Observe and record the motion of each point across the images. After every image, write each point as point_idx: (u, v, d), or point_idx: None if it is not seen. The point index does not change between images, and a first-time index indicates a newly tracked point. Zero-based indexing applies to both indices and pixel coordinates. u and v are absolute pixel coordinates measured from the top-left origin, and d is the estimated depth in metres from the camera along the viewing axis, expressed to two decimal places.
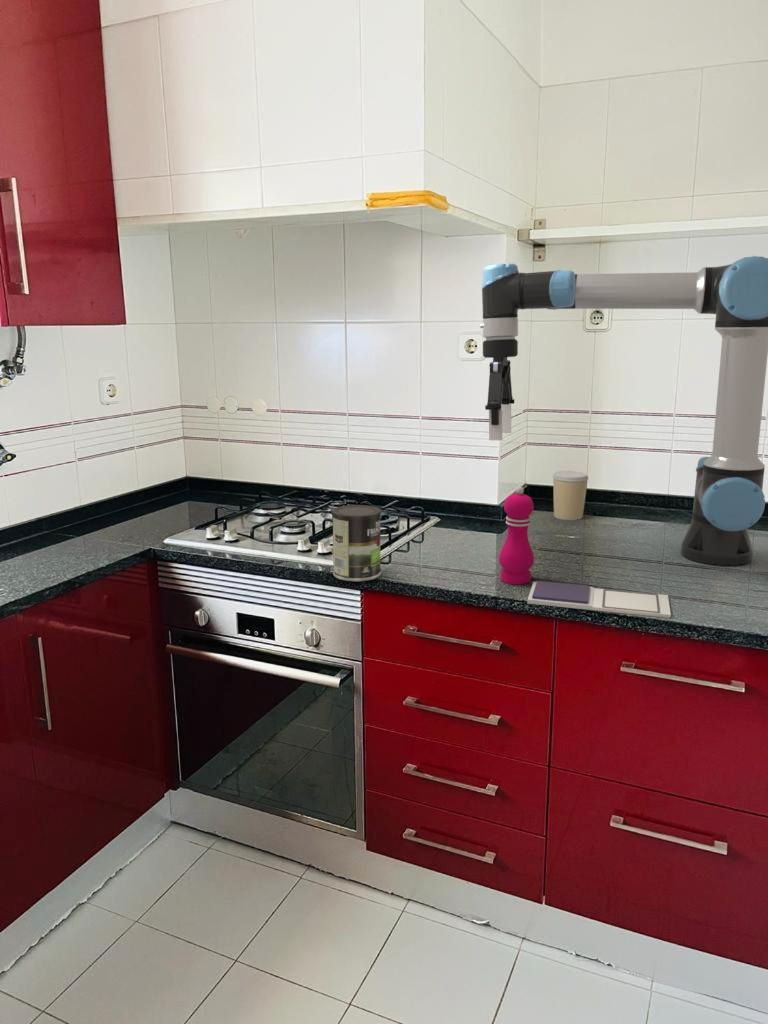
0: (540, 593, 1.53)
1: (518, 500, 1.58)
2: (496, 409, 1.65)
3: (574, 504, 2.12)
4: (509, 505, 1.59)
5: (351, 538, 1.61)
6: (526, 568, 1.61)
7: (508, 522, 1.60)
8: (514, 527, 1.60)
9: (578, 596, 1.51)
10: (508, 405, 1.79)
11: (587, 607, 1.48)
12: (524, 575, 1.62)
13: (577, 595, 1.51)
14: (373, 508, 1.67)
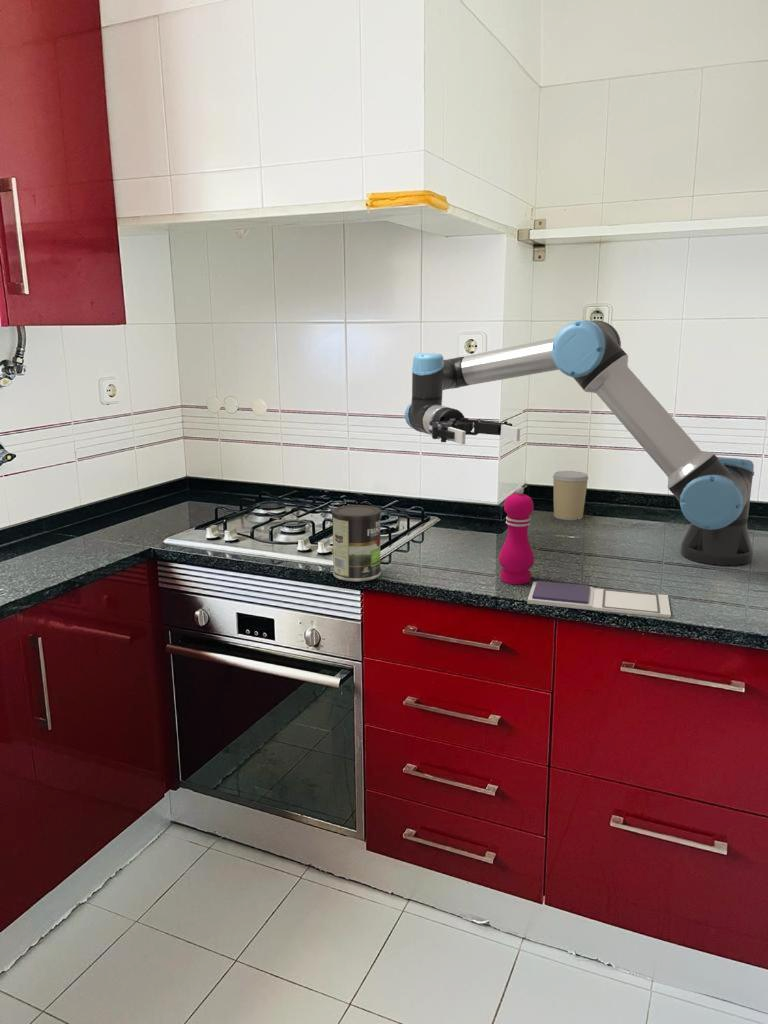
0: (540, 593, 1.53)
1: (518, 500, 1.58)
2: (441, 431, 1.71)
3: (574, 504, 2.12)
4: (509, 505, 1.59)
5: (351, 538, 1.61)
6: (526, 568, 1.61)
7: (508, 522, 1.60)
8: (514, 527, 1.60)
9: (578, 596, 1.51)
10: (501, 427, 1.76)
11: (587, 607, 1.48)
12: (524, 575, 1.62)
13: (577, 595, 1.51)
14: (373, 508, 1.67)
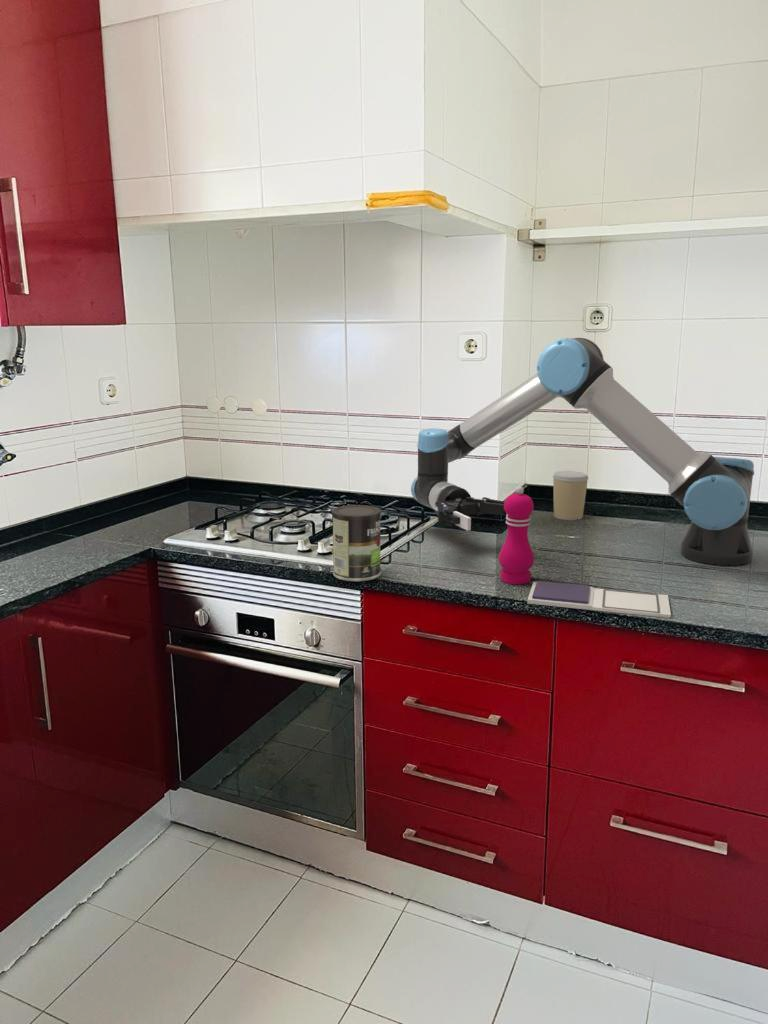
0: (540, 593, 1.53)
1: (518, 500, 1.58)
2: (447, 515, 1.71)
3: (574, 504, 2.12)
4: (509, 505, 1.59)
5: (351, 538, 1.61)
6: (526, 568, 1.61)
7: (508, 522, 1.60)
8: (514, 527, 1.60)
9: (578, 596, 1.51)
10: None
11: (587, 607, 1.48)
12: (524, 575, 1.62)
13: (577, 595, 1.51)
14: (373, 508, 1.67)
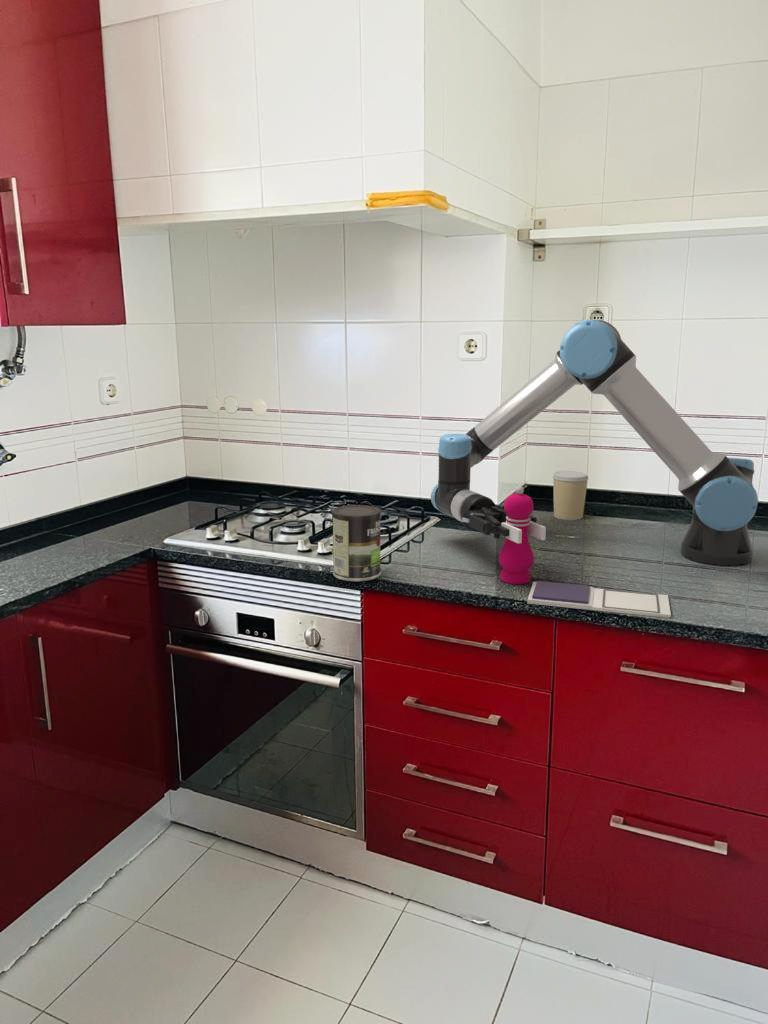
0: (540, 593, 1.53)
1: (518, 500, 1.58)
2: (494, 527, 1.61)
3: (574, 504, 2.12)
4: (509, 505, 1.59)
5: (351, 538, 1.61)
6: (526, 568, 1.61)
7: (508, 522, 1.60)
8: None
9: (578, 596, 1.51)
10: None
11: (587, 607, 1.48)
12: (524, 575, 1.62)
13: (577, 595, 1.51)
14: (373, 508, 1.67)
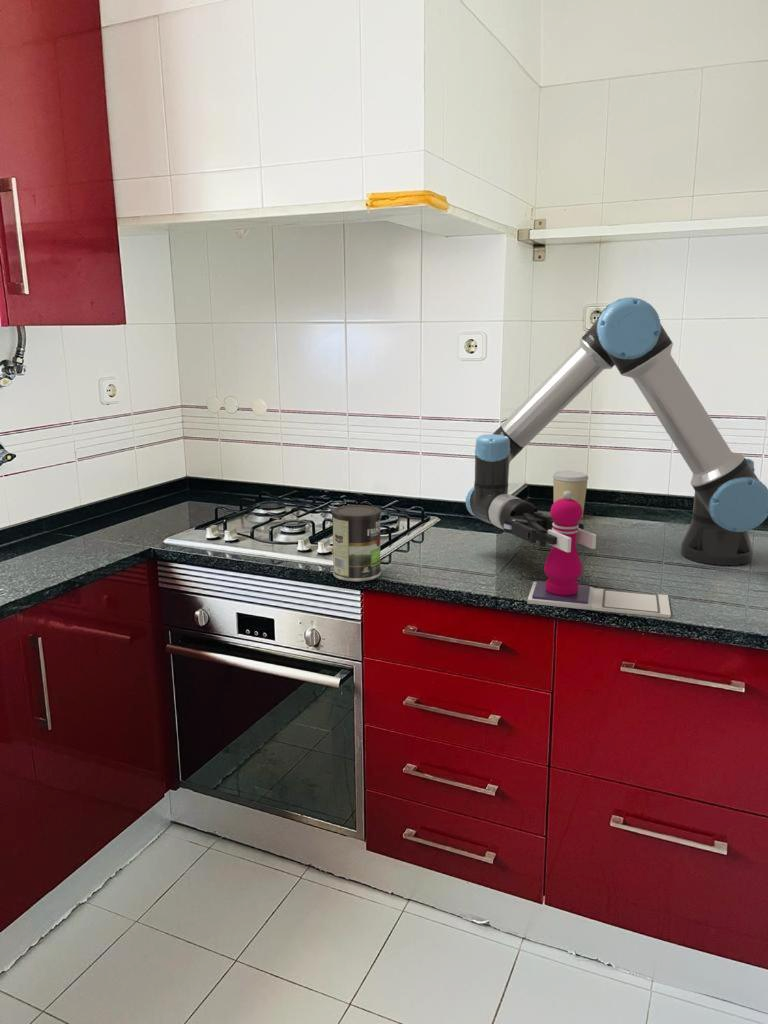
0: (540, 593, 1.53)
1: (566, 506, 1.48)
2: (540, 534, 1.51)
3: None
4: (557, 511, 1.48)
5: (351, 538, 1.61)
6: (574, 578, 1.50)
7: (555, 529, 1.50)
8: None
9: (578, 596, 1.51)
10: None
11: (587, 607, 1.48)
12: (572, 585, 1.51)
13: (577, 595, 1.51)
14: (373, 508, 1.67)
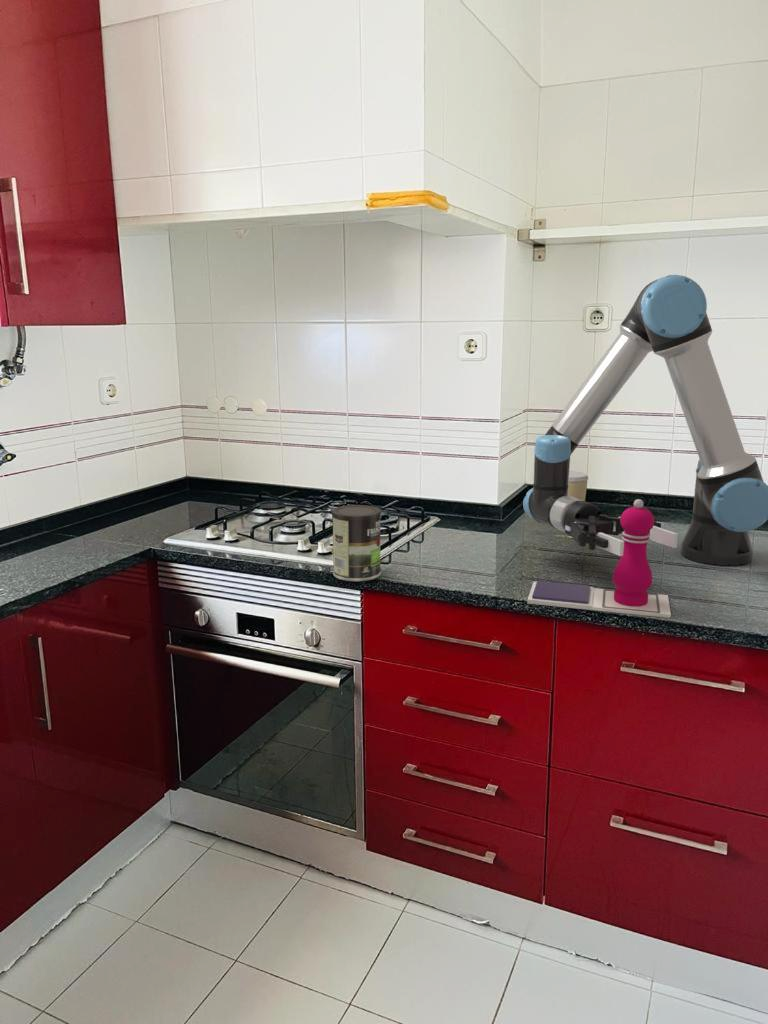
0: (540, 593, 1.53)
1: (639, 515, 1.44)
2: (590, 537, 1.47)
3: None
4: (628, 520, 1.45)
5: (351, 538, 1.61)
6: (645, 589, 1.47)
7: (626, 538, 1.46)
8: (633, 544, 1.46)
9: (578, 596, 1.51)
10: None
11: (587, 607, 1.48)
12: (642, 596, 1.48)
13: (577, 595, 1.51)
14: (373, 508, 1.67)
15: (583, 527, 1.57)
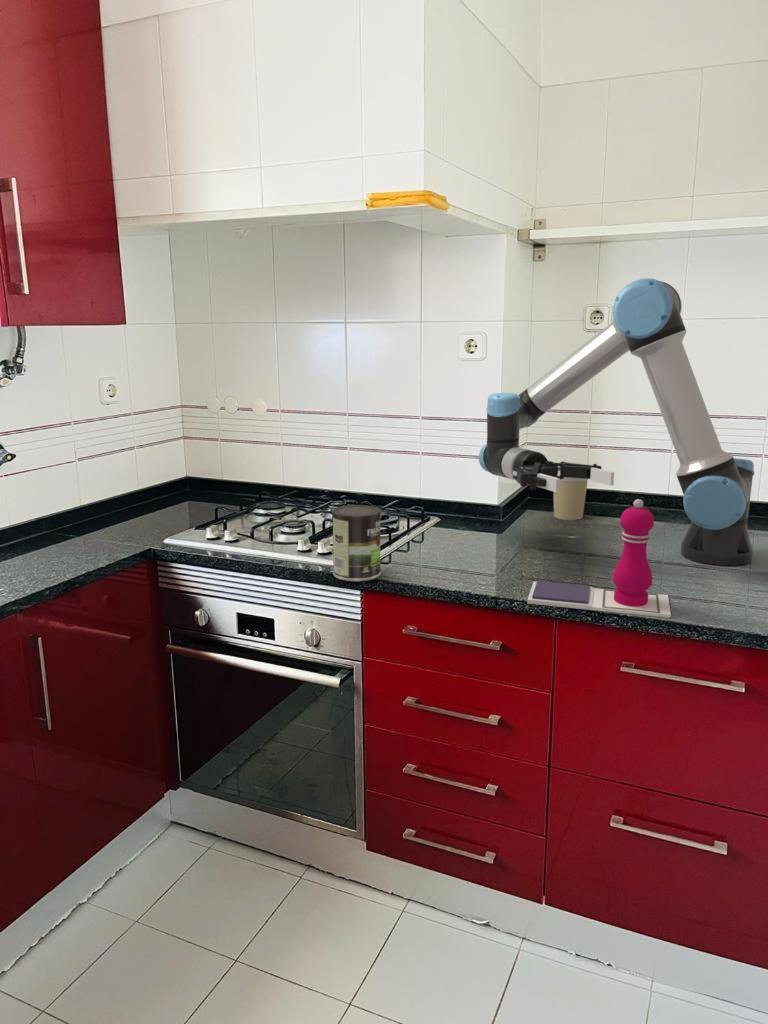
0: (540, 593, 1.53)
1: (639, 515, 1.44)
2: (530, 478, 1.61)
3: (574, 504, 2.12)
4: (628, 520, 1.45)
5: (351, 538, 1.61)
6: (645, 589, 1.47)
7: (626, 538, 1.47)
8: (633, 544, 1.46)
9: (578, 596, 1.51)
10: (591, 470, 1.67)
11: (587, 607, 1.48)
12: (642, 596, 1.48)
13: (577, 595, 1.51)
14: (373, 508, 1.67)
15: (530, 472, 1.71)
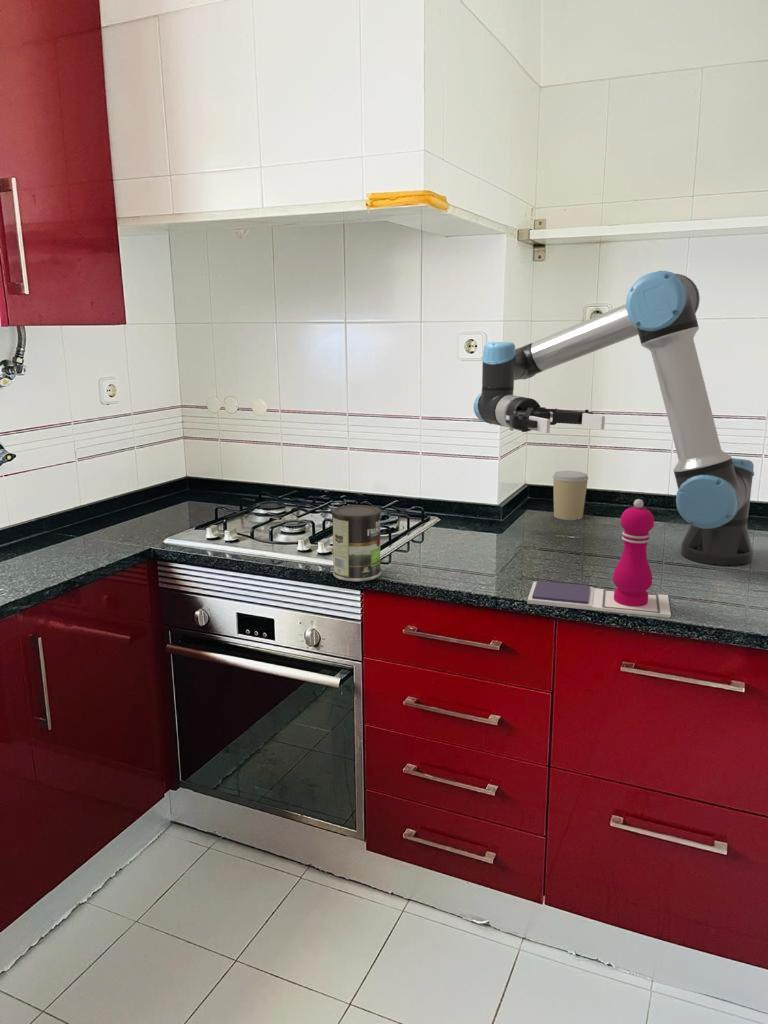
0: (540, 593, 1.53)
1: (639, 515, 1.44)
2: (522, 420, 1.64)
3: (574, 504, 2.12)
4: (628, 520, 1.45)
5: (351, 538, 1.61)
6: (645, 589, 1.47)
7: (626, 538, 1.47)
8: (633, 544, 1.46)
9: (578, 596, 1.51)
10: (583, 415, 1.69)
11: (587, 607, 1.48)
12: (642, 596, 1.48)
13: (577, 595, 1.51)
14: (373, 508, 1.67)
15: None
